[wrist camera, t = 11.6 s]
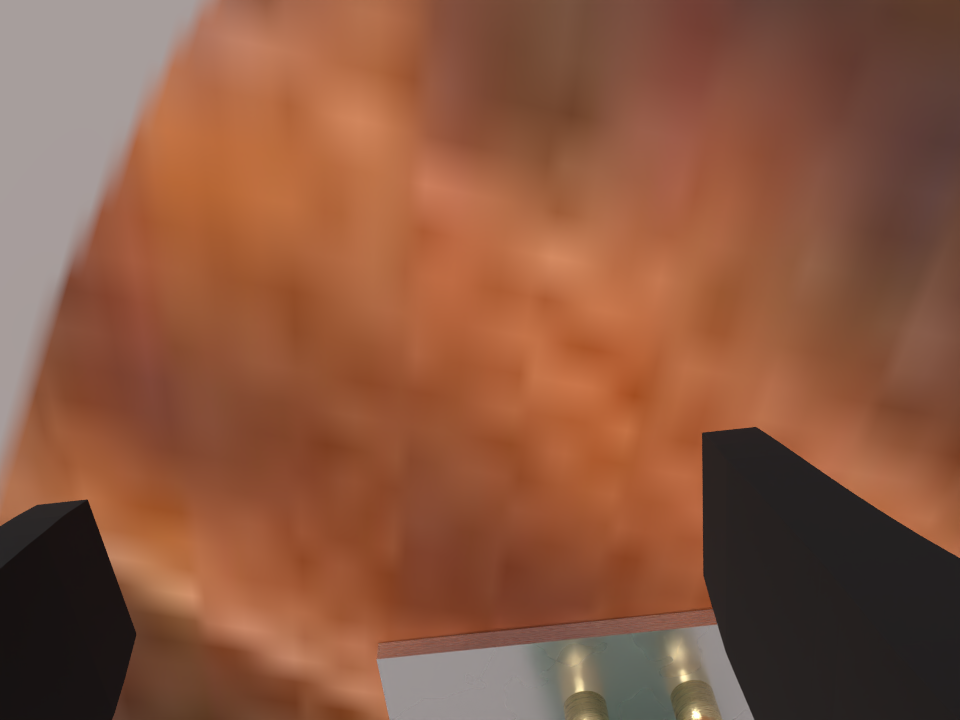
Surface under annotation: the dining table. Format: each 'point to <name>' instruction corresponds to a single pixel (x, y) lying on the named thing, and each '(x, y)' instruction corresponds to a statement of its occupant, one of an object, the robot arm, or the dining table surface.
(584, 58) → the dining table surface
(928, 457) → the dining table surface
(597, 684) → the plate
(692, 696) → the standoff posts
